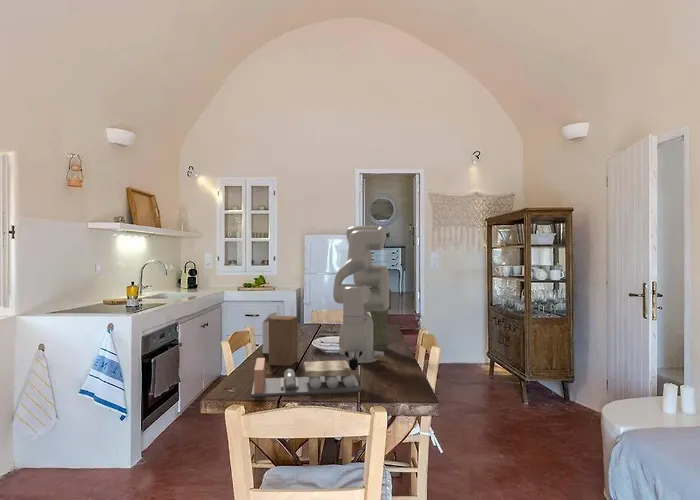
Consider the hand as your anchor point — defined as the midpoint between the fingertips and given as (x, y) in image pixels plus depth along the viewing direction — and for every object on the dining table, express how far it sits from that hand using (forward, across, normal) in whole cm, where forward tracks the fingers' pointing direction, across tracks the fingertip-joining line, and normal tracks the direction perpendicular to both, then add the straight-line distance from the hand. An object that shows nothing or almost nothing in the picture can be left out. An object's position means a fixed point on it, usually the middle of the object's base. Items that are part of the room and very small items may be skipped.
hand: (353, 369), depth 177 cm
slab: (0, +10, 0) cm, 10 cm away
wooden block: (+6, +25, -36) cm, 44 cm away
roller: (+5, +24, 0) cm, 24 cm away
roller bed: (+5, +18, 0) cm, 18 cm away
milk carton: (+6, +30, -58) cm, 66 cm away
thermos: (+6, -22, -58) cm, 62 cm away
